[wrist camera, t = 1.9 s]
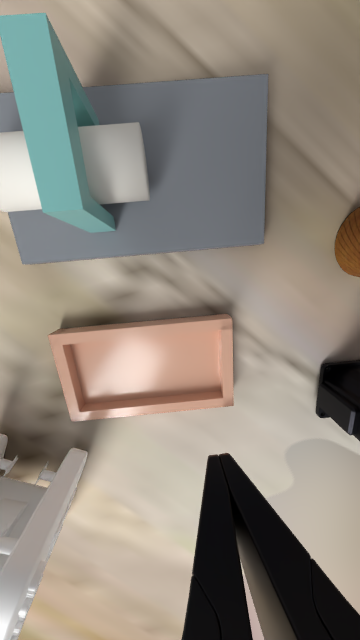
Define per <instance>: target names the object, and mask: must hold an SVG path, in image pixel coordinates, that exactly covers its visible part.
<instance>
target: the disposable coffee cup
mask: <svg viewBox="0 0 360 640" xmlns="http://www.w3.org/2000/svg"><path fill="white" fill-rule="evenodd" d="M335 255H336V259H337V262H338V263H339V265H340V267H341V268H342V269H343V270H344V271H345V272H346V273H348V274H350V275H353V276H357V277H360V207H359V208H357V209H356V210H355V211H353V212H352V213H351V214H350V215H349V216H348V217H347V218H346V220H345V221H344V223H343V224H342V225H341V227H340V229H339V231H338V234H337V237H336V242H335Z"/></svg>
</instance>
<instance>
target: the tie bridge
mask: <svg viewBox="0 0 360 640" xmlns="http://www.w3.org/2000/svg"><path fill="white" fill-rule="evenodd" d="M0 36H1V40H2V45H3V49H4V53H5V57H6V61H7V65H8V70H9V74H10V78H11V82H12V86H13V90H14V95H15V99H16V103H17V107H18V111H19V115H20V119H21V124H22V128H23V132H24V136H25V140H26V144H27V149H28V153H29V157H30V161H31V165H32V169H33V174H34V178H35V182H36V186H37V190H38V194H39V198H40V203H41V207H42V211H43V213H45V214H47V215H50V216H52V217H55V218H57V219H59V220H62V221H64V222H66V223H69V224H71V225H73V226H76V227H78V228H80V229H83V230H85V231H88V232H90V233H95V232H107V231H116V228H115V221H114V217H113V216H112V215H111V214H110V213H109V212H107V211H106V210H105V209H104V208H103V207H102V206H101V205H99V204H98V203H97V202H96V201H95V200H94V199H92V198H91V197H90V193H89V187H88V182H87V176H86V170H85V165H84V159H83V154H82V148H81V143H80V137H79V132H78V127H82V126H95V125H99V120H98V118H97V116H96V114H95V112H94V110H93V107H92V105H91V103H90V101H89V99H88V97H87V95H86V93H85V91H84V89H83V87H82V85H81V83H80V81H79V79H78V77H77V75H76V73H75V71H74V69H73V67H72V65H71V63H70V61H69V59H68V57H67V55H66V53H65V51H64V49H63V47H62V45H61V43H60V41H59V39H58V37H57V35H56V33H55V31H54V29H53V27H52V25H51V23H50V21H49V19H48V17H47V15H46V13H35V14H20V15H5V16H0Z"/></svg>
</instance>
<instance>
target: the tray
mask: <svg viewBox="0 0 360 640" xmlns="http://www.w3.org/2000/svg"><path fill="white" fill-rule="evenodd" d="M48 338H49V341H50V345H51V349H52V352H53V356H54V360H55V363H56V367H57V371H58V374H59V378H60V381H61V385H62V389H63V392H64V396H65V400H66V403H67V407H68V411H69V414H70V418H71V421H72V422H75V421H85V420H95V419H105V418H115V417H126V416H136V415H146V414H156V413H166V412H176V411H186V410H196V409H206V408H216V407H226V406H234V400H233V336H232V318H231V317H230V316H229V315H228V314H218V315H207V316H196V317H185V318H174V319H163V320H152V321H141V322H130V323H119V324H108V325H97V326H87V327H76V328H65V329H58V330H57V331H55V332H53V333H51V334H49V335H48Z"/></svg>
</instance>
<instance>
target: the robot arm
mask: <svg viewBox="0 0 360 640" xmlns="http://www.w3.org/2000/svg"><path fill="white" fill-rule="evenodd" d="M327 368H328V369H327ZM316 414H317V415H318V416H319V417H320V418H328V417H331V418H332V419H333V420H334V421H335V422H336V423H337V424H338V425H339V426H340V427H341V428H342V429H343V430H344V431H345V432H347V433H348V434H349V435H354V436H355V437H356V438H357V439H358V440H359V441H360V360H356V361H345V362H335V363H325V364H323V365H322V366H321V371H320V380H319V389H318V398H317V406H316ZM240 559H241V562H240ZM241 563H242V566H243V569H244V573H245V576H246V579H247V583H248V586H249V589H250V592H251V596H252V599H253V603H254V606H255V609H256V613H257V616H258V619H259V623H260V626H261V629H262V632H263V636H264V639H265V640H360V615H359V614H358V613H357V611H356V610H355V609H354V608H353V607H352V606H351V605H350V603H349V602H348V601H347V600H346V599H345V597H344V596H343V595H342V594H341V593H340V591H338V589H337V588H336V587H335V585H334V584H333V583H332V582H331V580H330V579H329V578H328V577H327V576H326V574H325V573H324V572H323V571H322V569H321V568H320V567H319V566H318V564H317V563H316V562H315V560H313V559H311V557H310V555H309V553H308V552H307V551H306V549H305V548H304V547H303V546H302V544H301V543H300V542H299V541H298V539H297V538H296V537H295V536H294V534H293V533H292V532H291V530H290V529H289V528H288V527H287V525H286V524H285V523H284V522H283V520H282V519H281V518H280V517H279V515H277V513H276V512H275V510H274V509H273V508H272V507H271V505H270V504H269V503H268V502H267V500H266V499H265V498H264V497H263V495H262V494H261V493H260V491H259V490H258V489H257V488H256V486H255V485H254V484H253V483H252V481H251V480H250V479H249V478H248V476H247V475H246V474H245V473H244V471H243V470H242V469H241V468H240V466H239V465H238V464H237V463H236V461H235V460H234V459H233V458H232V456H231V455H230V454H229V453H224V454H220V455H219V456H218V455H209V456H208V461H207V468H206V475H205V483H204V490H203V497H202V505H201V512H200V519H199V527H198V534H197V541H196V549H195V556H194V563H193V571H192V575H193V576H192V577H191V584H190V592H189V599H188V605H187V611H186V618H185V624H184V630H183V635H182V640H253V638H252V632H251V626H250V620H249V613H248V607H247V601H246V594H245V588H244V581H243V575H242V569H241Z"/></svg>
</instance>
